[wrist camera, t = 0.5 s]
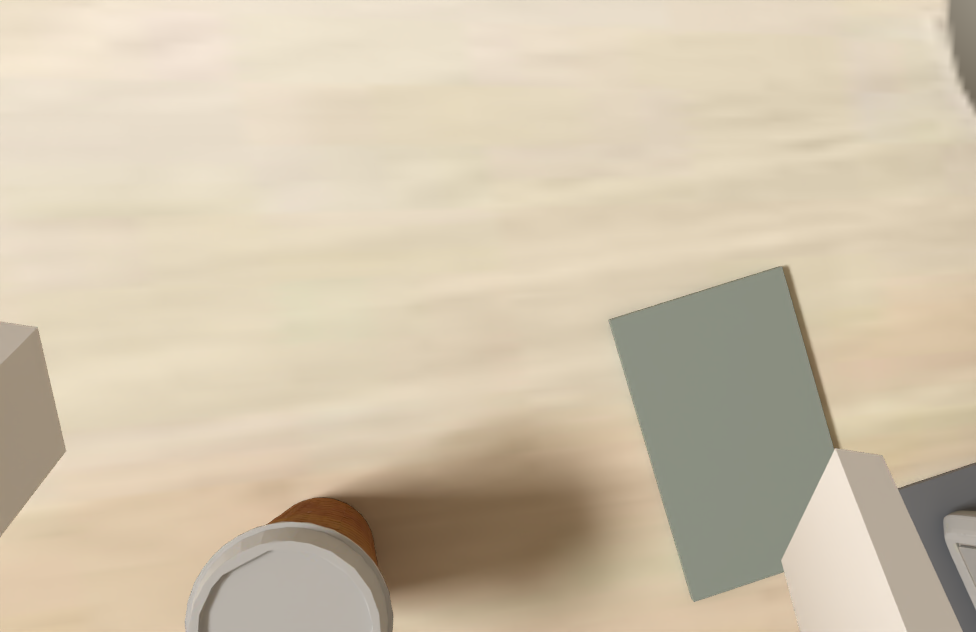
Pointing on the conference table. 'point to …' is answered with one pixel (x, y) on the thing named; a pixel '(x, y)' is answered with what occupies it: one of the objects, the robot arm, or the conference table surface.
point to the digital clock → (963, 546)
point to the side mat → (727, 424)
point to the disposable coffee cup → (295, 577)
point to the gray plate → (927, 511)
